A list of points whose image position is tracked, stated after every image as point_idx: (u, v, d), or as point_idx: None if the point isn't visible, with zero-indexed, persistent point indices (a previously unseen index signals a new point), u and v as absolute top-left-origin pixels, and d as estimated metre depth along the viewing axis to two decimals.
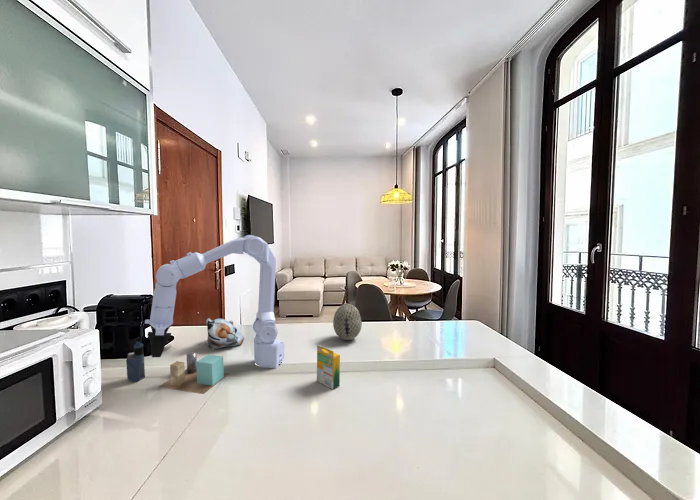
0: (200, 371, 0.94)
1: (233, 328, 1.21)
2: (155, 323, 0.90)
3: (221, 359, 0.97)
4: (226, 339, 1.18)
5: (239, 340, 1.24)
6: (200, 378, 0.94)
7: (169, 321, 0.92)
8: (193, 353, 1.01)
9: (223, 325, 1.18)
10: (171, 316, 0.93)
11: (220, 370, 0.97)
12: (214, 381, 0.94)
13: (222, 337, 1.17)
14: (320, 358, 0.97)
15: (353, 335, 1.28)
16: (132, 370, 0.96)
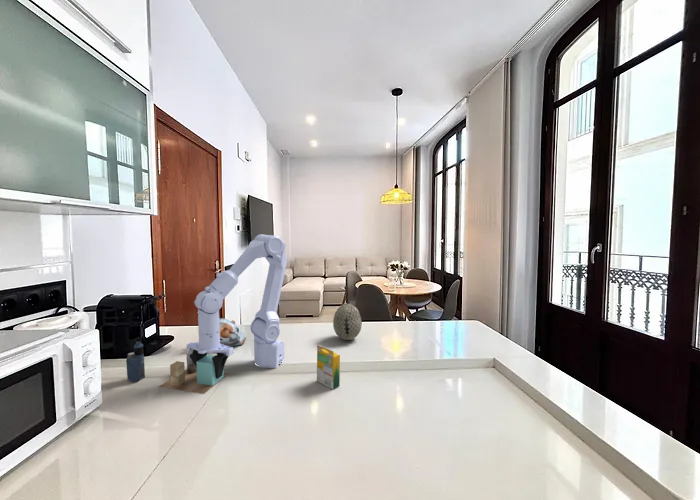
0: (200, 371, 0.94)
1: (235, 328, 1.21)
2: (214, 348, 0.93)
3: None
4: (229, 339, 1.18)
5: (241, 340, 1.24)
6: (200, 378, 0.94)
7: None
8: None
9: (226, 325, 1.19)
10: None
11: None
12: (214, 381, 0.94)
13: (225, 337, 1.18)
14: (320, 358, 0.97)
15: (353, 335, 1.28)
16: (132, 370, 0.96)
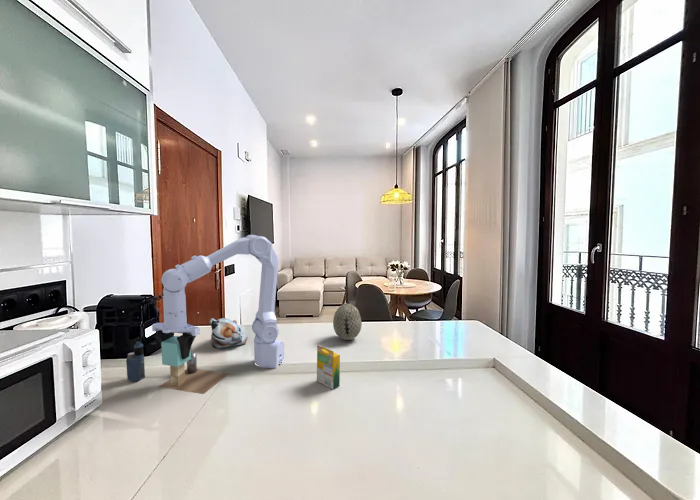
0: (165, 352, 0.91)
1: (237, 327, 1.22)
2: (179, 328, 0.91)
3: None
4: (231, 338, 1.19)
5: (243, 340, 1.25)
6: (165, 359, 0.91)
7: (186, 323, 0.94)
8: (193, 353, 1.01)
9: (228, 325, 1.19)
10: None
11: None
12: (179, 362, 0.91)
13: (227, 337, 1.18)
14: (320, 358, 0.97)
15: (353, 335, 1.28)
16: (132, 370, 0.96)
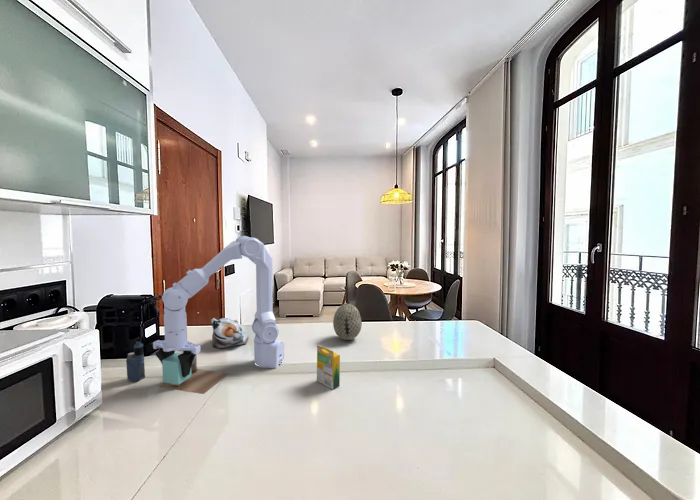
0: (166, 370, 0.91)
1: (239, 327, 1.22)
2: (180, 346, 0.91)
3: None
4: (233, 338, 1.19)
5: (244, 339, 1.25)
6: (166, 377, 0.92)
7: None
8: None
9: (229, 325, 1.19)
10: None
11: None
12: (180, 380, 0.92)
13: (229, 336, 1.18)
14: (320, 358, 0.97)
15: (353, 335, 1.28)
16: (132, 370, 0.96)
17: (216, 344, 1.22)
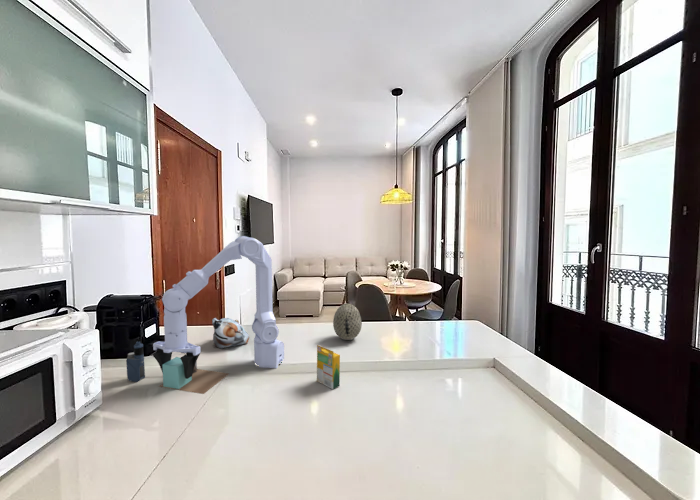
0: (166, 374, 0.92)
1: (240, 327, 1.22)
2: (180, 348, 0.91)
3: None
4: (234, 338, 1.19)
5: (245, 339, 1.25)
6: (166, 381, 0.92)
7: None
8: None
9: (231, 325, 1.19)
10: None
11: None
12: (180, 385, 0.92)
13: (230, 336, 1.18)
14: (320, 358, 0.97)
15: (353, 335, 1.28)
16: (132, 370, 0.96)
17: (217, 344, 1.22)
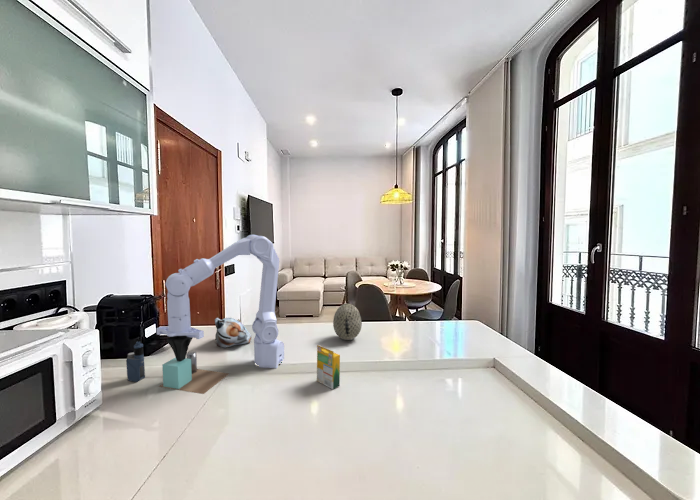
0: (166, 374, 0.92)
1: (243, 326, 1.23)
2: (184, 332, 0.92)
3: (189, 362, 0.95)
4: (237, 337, 1.20)
5: (248, 339, 1.26)
6: (166, 381, 0.92)
7: (190, 326, 0.95)
8: (193, 353, 1.01)
9: (234, 324, 1.20)
10: None
11: (187, 373, 0.94)
12: (180, 385, 0.92)
13: (233, 336, 1.19)
14: (320, 358, 0.97)
15: (353, 335, 1.28)
16: (132, 370, 0.96)
17: (220, 344, 1.22)
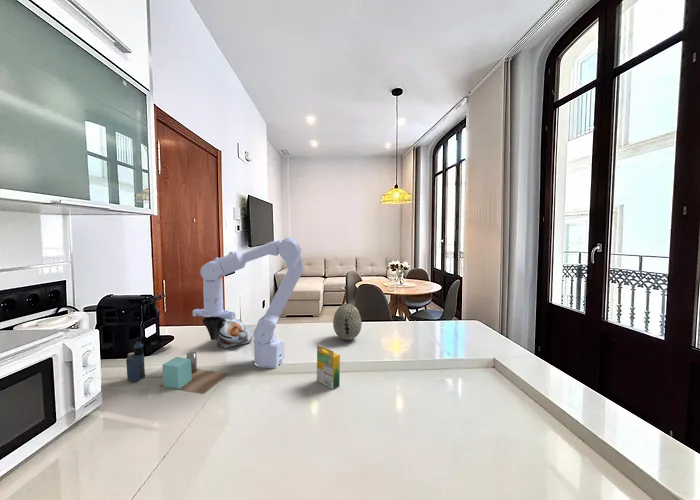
0: (166, 374, 0.92)
1: (244, 326, 1.23)
2: (218, 313, 1.02)
3: (189, 362, 0.95)
4: (238, 337, 1.20)
5: (249, 338, 1.26)
6: (166, 381, 0.92)
7: (222, 309, 1.06)
8: (193, 353, 1.01)
9: (235, 324, 1.20)
10: None
11: (187, 373, 0.94)
12: (180, 385, 0.92)
13: (234, 336, 1.19)
14: (320, 358, 0.97)
15: (353, 335, 1.28)
16: (132, 370, 0.96)
17: (221, 343, 1.22)
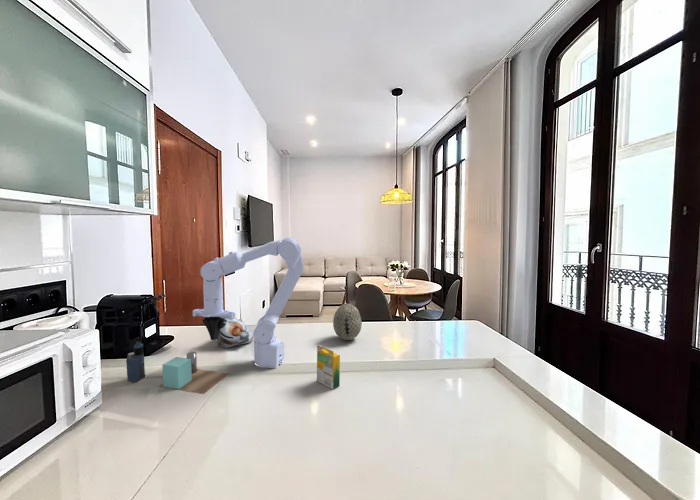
0: (166, 374, 0.92)
1: (245, 326, 1.23)
2: (218, 313, 1.02)
3: (189, 362, 0.95)
4: (239, 337, 1.20)
5: (250, 338, 1.26)
6: (166, 381, 0.92)
7: (222, 309, 1.06)
8: (193, 353, 1.01)
9: (236, 324, 1.20)
10: None
11: (187, 373, 0.94)
12: (180, 385, 0.92)
13: (236, 335, 1.19)
14: (320, 358, 0.97)
15: (353, 335, 1.28)
16: (132, 370, 0.96)
17: (222, 343, 1.22)
